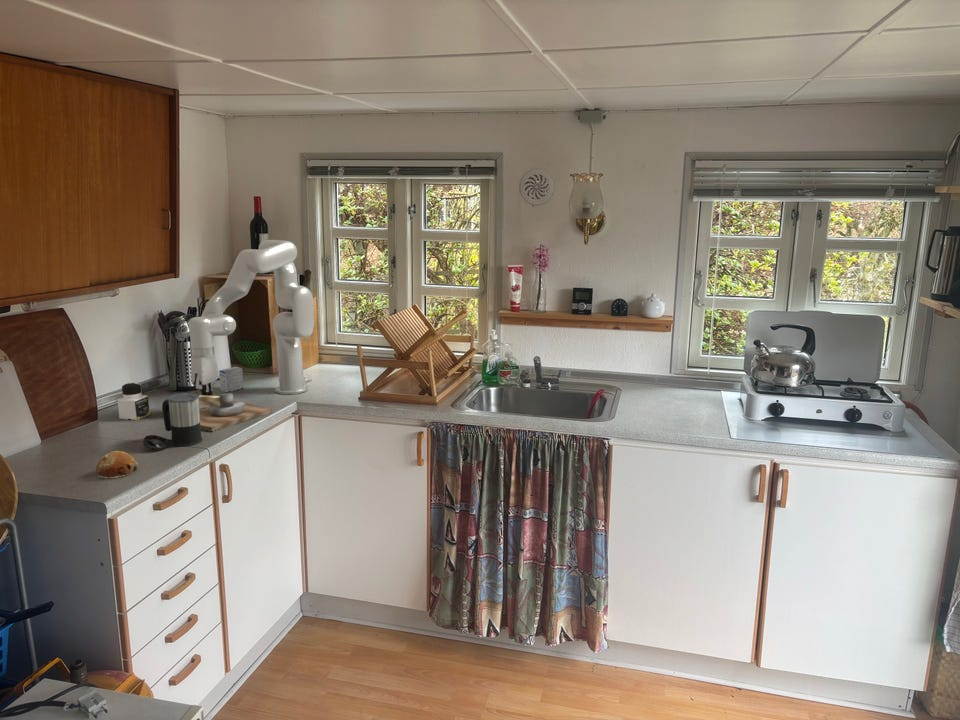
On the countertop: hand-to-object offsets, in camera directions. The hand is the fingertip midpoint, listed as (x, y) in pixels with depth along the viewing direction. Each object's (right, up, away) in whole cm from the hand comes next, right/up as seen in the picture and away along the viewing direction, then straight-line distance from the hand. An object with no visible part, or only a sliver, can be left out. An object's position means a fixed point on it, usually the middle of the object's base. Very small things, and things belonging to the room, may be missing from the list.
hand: (207, 401), depth 261 cm
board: (+7, -5, -6) cm, 10 cm away
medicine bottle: (-24, -5, -5) cm, 25 cm away
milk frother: (+2, -12, -34) cm, 36 cm away
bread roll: (-3, -17, -57) cm, 60 cm away
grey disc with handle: (+5, -3, -4) cm, 7 cm away
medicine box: (-2, +3, +31) cm, 32 cm away
